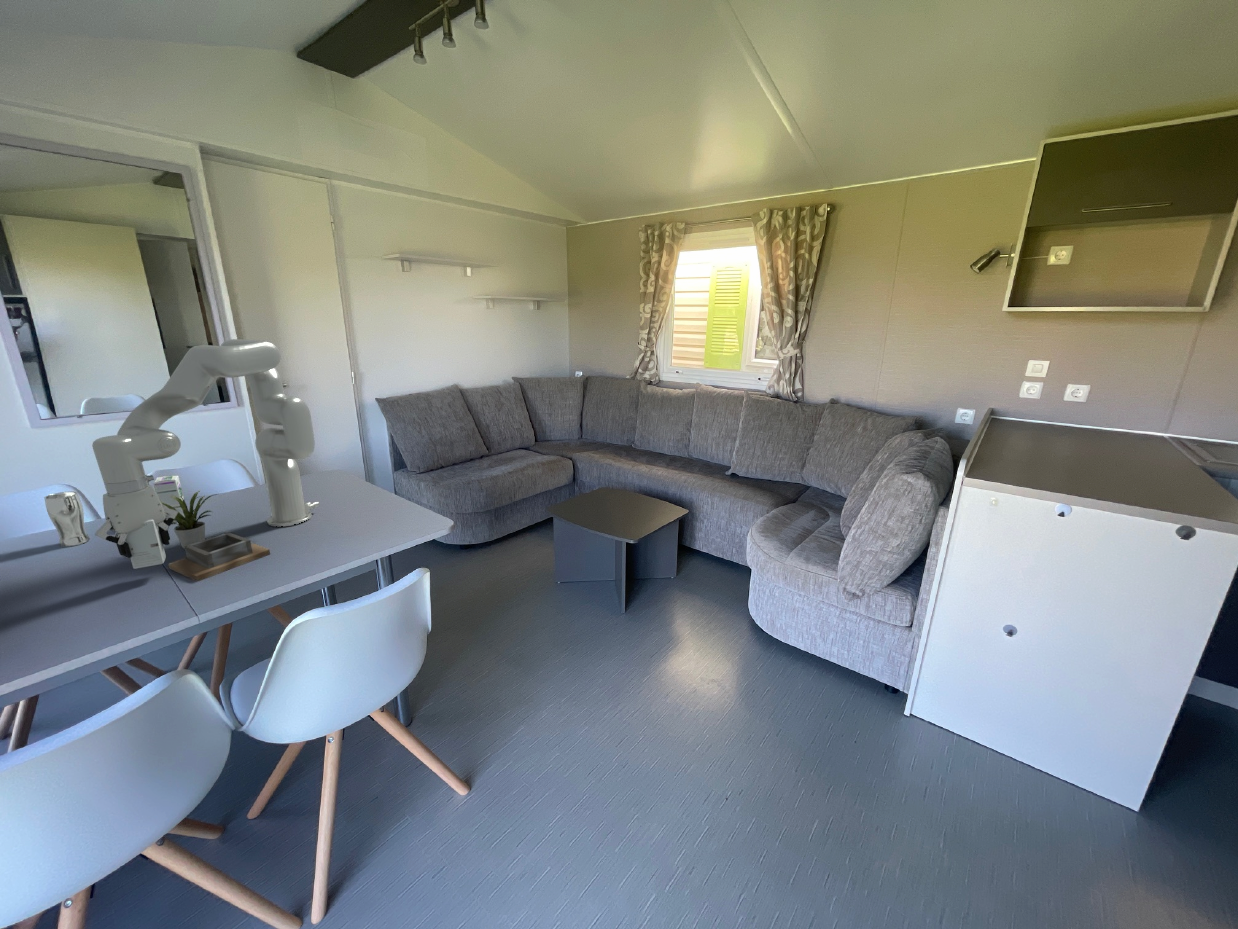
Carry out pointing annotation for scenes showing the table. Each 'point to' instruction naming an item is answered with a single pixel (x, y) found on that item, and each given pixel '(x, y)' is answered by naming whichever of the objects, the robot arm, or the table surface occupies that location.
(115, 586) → the table surface
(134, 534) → the skincare box
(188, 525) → the house plant
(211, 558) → the socket
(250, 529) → the table surface
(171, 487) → the syrup box
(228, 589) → the table surface
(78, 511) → the beer glass
